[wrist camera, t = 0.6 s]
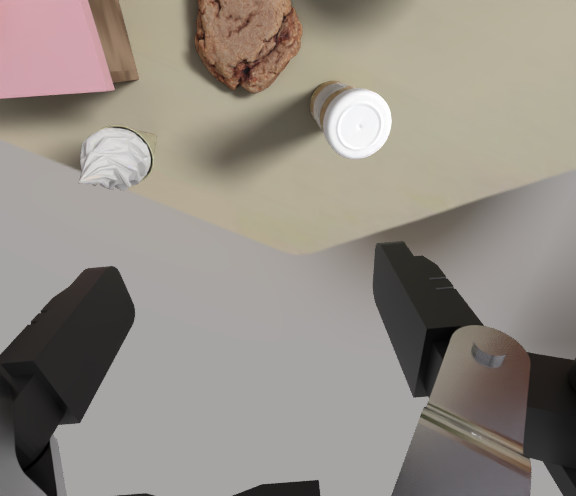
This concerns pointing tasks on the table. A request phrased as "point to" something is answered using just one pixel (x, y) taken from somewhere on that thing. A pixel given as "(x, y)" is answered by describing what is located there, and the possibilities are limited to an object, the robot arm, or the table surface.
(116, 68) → the box
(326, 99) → the sprinkles bottle
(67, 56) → the lid
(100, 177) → the ice cream cone
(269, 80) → the cookie
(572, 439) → the robot arm
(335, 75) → the table surface
